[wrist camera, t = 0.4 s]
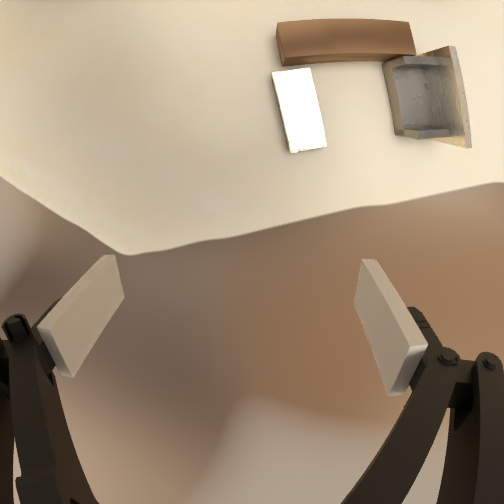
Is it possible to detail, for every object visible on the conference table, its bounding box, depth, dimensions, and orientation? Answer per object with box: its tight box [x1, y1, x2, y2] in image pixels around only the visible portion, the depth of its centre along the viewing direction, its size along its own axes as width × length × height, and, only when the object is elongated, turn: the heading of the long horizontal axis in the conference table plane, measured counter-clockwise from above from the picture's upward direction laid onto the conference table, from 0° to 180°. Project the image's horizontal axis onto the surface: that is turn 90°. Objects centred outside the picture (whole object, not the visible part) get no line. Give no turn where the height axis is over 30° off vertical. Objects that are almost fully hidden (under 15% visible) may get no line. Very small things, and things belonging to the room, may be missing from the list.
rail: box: [276, 19, 416, 67], centre depth 28 cm, size 4×16×6 cm, turn 100°
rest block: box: [272, 67, 327, 154], centre depth 33 cm, size 10×4×4 cm, turn 13°
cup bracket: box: [382, 46, 472, 148], centre depth 28 cm, size 12×6×10 cm, turn 13°
